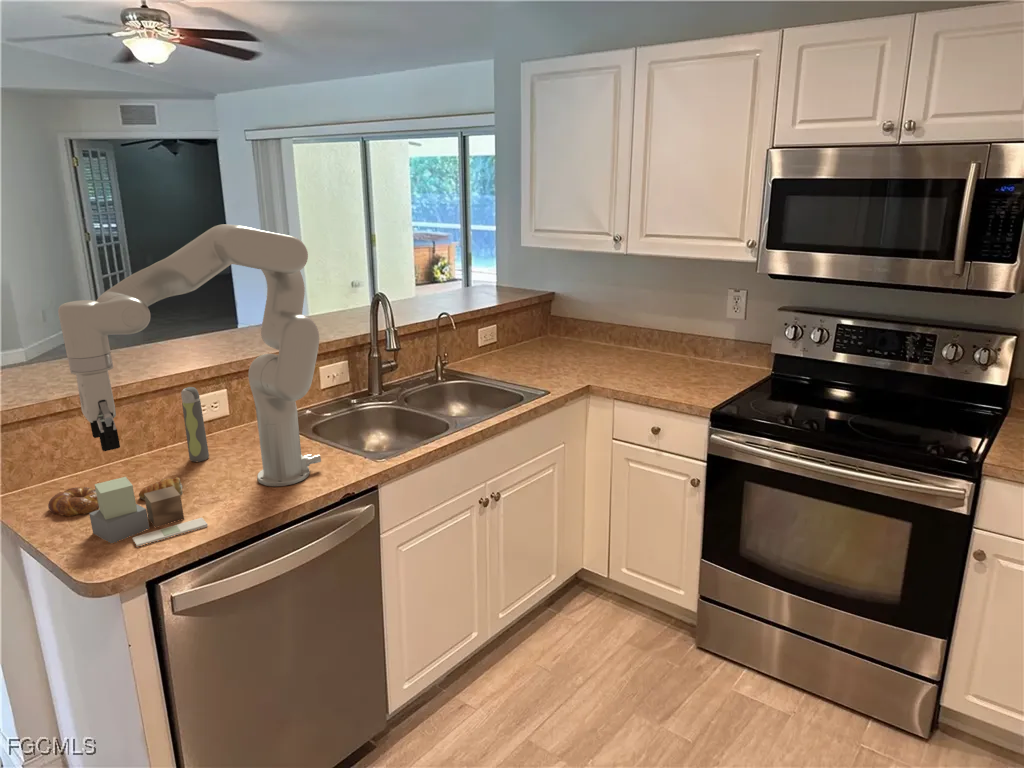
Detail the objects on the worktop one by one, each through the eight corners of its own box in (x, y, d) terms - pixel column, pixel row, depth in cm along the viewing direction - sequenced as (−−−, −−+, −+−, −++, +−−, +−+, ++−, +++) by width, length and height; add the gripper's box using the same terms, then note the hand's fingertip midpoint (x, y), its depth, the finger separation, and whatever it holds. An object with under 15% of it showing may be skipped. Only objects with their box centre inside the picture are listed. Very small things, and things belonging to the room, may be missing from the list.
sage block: (130, 501, 154) (125, 476, 153) (137, 511, 150) (132, 485, 148) (99, 510, 151) (94, 484, 149) (105, 519, 146) (100, 493, 145)
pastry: (140, 505, 164) (137, 490, 163) (139, 494, 170) (137, 480, 168) (184, 496, 168) (181, 482, 167) (182, 486, 174) (180, 472, 173)
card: (202, 519, 156) (201, 517, 156) (207, 526, 153) (207, 523, 153) (132, 540, 148) (132, 537, 148) (137, 547, 145) (136, 544, 145)
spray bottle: (193, 455, 192) (183, 385, 186) (212, 455, 192) (202, 385, 186) (186, 462, 187) (175, 390, 182) (205, 462, 188) (195, 390, 182)
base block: (130, 519, 157) (127, 499, 156) (149, 529, 153) (146, 508, 151) (93, 534, 151) (89, 513, 149) (111, 545, 146) (107, 523, 145)
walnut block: (176, 510, 161) (172, 486, 159) (184, 519, 157) (180, 494, 155) (148, 518, 157) (143, 493, 156) (155, 528, 153) (150, 502, 151)
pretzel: (114, 506, 163) (111, 492, 162) (61, 524, 156) (58, 508, 154) (94, 492, 171) (92, 478, 170) (43, 508, 163) (40, 493, 162)
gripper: (62, 357, 145) (78, 435, 150) (76, 375, 132) (93, 459, 137) (103, 351, 150) (117, 427, 155) (121, 368, 137) (136, 450, 142)
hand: (106, 442), depth 146 cm, fingers open, 9 cm apart
